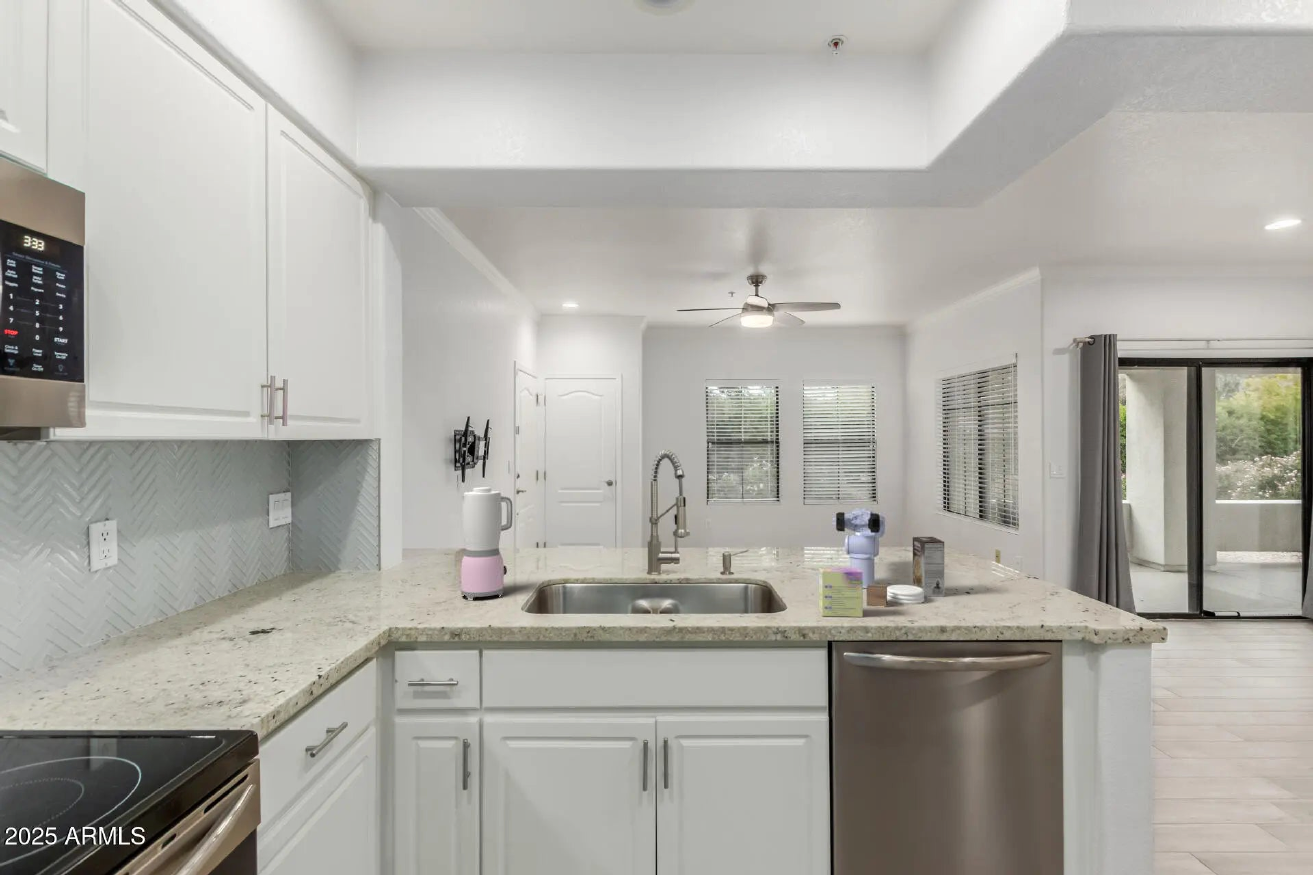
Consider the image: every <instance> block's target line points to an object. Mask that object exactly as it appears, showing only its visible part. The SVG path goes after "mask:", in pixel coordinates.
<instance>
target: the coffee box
mask: <svg viewBox="0 0 1313 875" xmlns="http://www.w3.org/2000/svg"><path fill="white" fill-rule="evenodd" d="M912 586H916V587H919V588H922V589H923V590H924V598H925V597H932V598H933V597H942V598H943V597H945V540H942V539H939V538H937V537H934V536H913V537H912Z"/></svg>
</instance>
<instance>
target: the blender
mask: <svg viewBox="0 0 1313 875" xmlns="http://www.w3.org/2000/svg"><path fill="white" fill-rule="evenodd" d="M460 496H461V497H462V505H461V506H462V507H461V508H462V509H461V513H462V514H461V515H462V516H461V520H462V522H461V523H462V533H463V540H464V544H465V545H464V546H465V552H464V556H463V557H462V559H461V568H460V569H461V570H460V572H461V573H460V574H461V575H460V577H461V578H460V579H461V580H460V582H461V589H460V593H461V594H460V595H461V596H462V595H465V596H464V597H466V599H467V598H470V599H473V598H474V599H475V598H478V597H479V598H481V597H490V596H495V595H497V596H498V595H499V596H500V595H503V594H504V591H505V590H504V589H505V588H504V576H505V575H507V572H508V568H507V566H506V565H504V559H503V556H502V555H501V552H500V549H499V548H500V541H501V533H502V532H504V531H507V530H510V529H511V528H512V526H513V501H512V499H511V498H510V497H508V496H505V495H504V496H503V495H502V494H501V491H497V490H495V491H493V490H492V488H491V487H485V486H483V487H473V488H472V491H468V492H464V493H462V494H460ZM502 503H505V505H506V523H505V524H502V522H503V521H502V520H503V519H502V518H503V515H502V513H503V512H502V511H503V510H502V509H503V508H502Z"/></svg>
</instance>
